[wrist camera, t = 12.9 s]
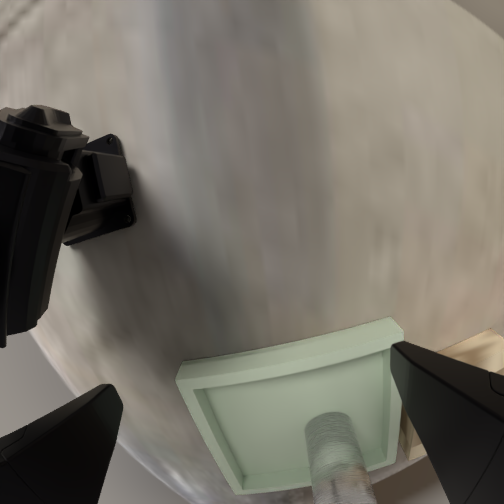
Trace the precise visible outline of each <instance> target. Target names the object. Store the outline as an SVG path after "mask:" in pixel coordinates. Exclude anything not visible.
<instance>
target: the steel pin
mask: <svg viewBox="0 0 504 504" xmlns="http://www.w3.org/2000/svg"><path fill="white" fill-rule="evenodd" d="M304 433H305V440H306V447H307V454H308V462H309V469H310V476H311V484H312V491H313V499H314V504H377V501H376V497H375V494H374V491H373V487H372V484H371V481H370V478H369V474H368V471H367V468H366V465H365V461H364V458H363V455H362V452H361V449H360V446H359V443H358V439H357V436H356V433H355V430H354V427H353V424H352V421H351V419H350V417H349V416H348V415H346V414H344V413H342V412H327V413H323V414H320V415H318V416H316V417H314V418H313V419H311V420H310V421H309V422H308V423H307V425H306V426H305V429H304Z"/></svg>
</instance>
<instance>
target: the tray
mask: <svg viewBox="0 0 504 504" xmlns="http://www.w3.org/2000/svg"><path fill="white" fill-rule="evenodd" d="M400 341H404V331H403V330H402V329H401V328H400V327H399V326H398V324H397V323H396V322H395V321H394V320H393V319H392V318H391V317H387V318H383V319H380V320H376V321H373V322H369V323H366V324H362V325H359V326H355V327H351V328H348V329H344V330H340V331H336V332H332V333H328V334H324V335H320V336H316V337H312V338H308V339H303V340H299V341H295V342H290V343H285V344H281V345H276V346H271V347H266V348H261V349H256V350H251V351H245V352H240V353H234V354H228V355H222V356H216V357H210V358H203V359H196V360H189V361H182V364H181V366H180V368H179V371H178V373H177V376H176V378H175V382H176V384H177V386H178V389H179V391H180V393H181V395H182V397H183V399H184V401H185V404H186V406H187V408H188V410H189V412H190V414H191V416H192V418H193V420H194V422H195V424H196V426H197V428H198V430H199V432H200V434H201V436H202V437H203V439H204V441H205V443H206V445H207V447H208V449H209V451H210V452H211V454H212V456H213V458H214V460H215V461H216V463H217V465H218V467H219V468H220V470H221V472H222V474H223V475H224V477H225V479H226V480H227V482H228V484H229V485H230V487H231V489H232V490H233V492H234V493H235V495H245V494H257V493H266V492H275V491H282V490H289V489H295V488H301V487H307V486H312V484H311V476H310V469H309V462H308V454H307V447H306V440H305V433H304V429H305V426H306V425H307V423H308V422H309V421H310V420H311V419H313V418H314V417H316V416H318V415H320V414H323V413H327V412H342V413H344V414H346V415H348V416H349V417H350V419H351V421H352V424H353V427H354V430H355V433H356V436H357V439H358V443H359V446H360V449H361V452H362V455H363V458H364V461H365V465H366V468H367V471H368V472H369V471H372V470H375V469H379V468H382V467H385V466H388V465H391V464H394V463H395V461H396V454H397V446H398V438H399V429H400V419H401V406H402V400H401V398H400V395H399V392H398V390H397V387H396V384H395V382H394V379H393V376H392V374H391V370H390V348H391V345H392V344H393V343H397V342H400Z"/></svg>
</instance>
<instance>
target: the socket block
mask: <svg viewBox="0 0 504 504" xmlns="http://www.w3.org/2000/svg"><path fill="white" fill-rule="evenodd" d="M436 353H439V354H442V355H445V356H448V357H450V358H453V359H456V360H459V361H462V362H465V363H468V364H471V365H474V366H477V367H479V368H482V369H485V370H488V371H489V372H490V371H492V372H495V373H497V374H501V375H504V338H503V337H501V336H500V335H499V334H497V333H496V332H495V331H493V330H492V329H491V328H490V329H488V330H486V331H484V332H482V333H480V334H478V335H475V336H473V337H471V338H469V339H467V340H464V341H462V342H460V343H458V344H455V345H453V346H450V347H448V348H446V349H443V350H441V351H438V352H436ZM398 440H399V442H400V444H401V446H402V448H403V450H404V452H405V455H406V457H407V459H408V461H410V460H413V459H415V458H418V457H420V456H423V455H425V454H427V453H426V451H425V449H424V447H423V445H422V443H421V440H420V438H419V436H418V435H417V433H416V431H415V429H414V427H413V425H412V423H411V421H410V419H409V417H408V415H407V413H406V411H405V408H404V406H403V403H402V406H401V419H400V429H399V438H398Z"/></svg>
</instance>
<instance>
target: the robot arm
mask: <svg viewBox="0 0 504 504" xmlns="http://www.w3.org/2000/svg"><path fill="white" fill-rule="evenodd" d="M82 132H83V131H81V130H79V129H77V128H75V127H73V126H72V125H71V121H70V116H69V113H66V112H64V111H61V110H58V109H54V108H51V107H47V106H43V105H31V106H29V107H27V108H21V109H17V110H16V109H12V108H8V107H5V108H3V109H1V110H0V348H4V347H6V336H8V335H12V334H17V333H22V332H26V331H28V330H30V329H32V328H34V327H36V325H37V320H38V319H40V318H41V316H42V315H43V314H44V312H45V311H46V310H47V309H48V304H49V299H50V294H51V288H52V283H53V278H54V273H55V268H56V264H57V259H58V255H59V251H60V247H61V243H63V244H64V245H66V246H69V245H72V244H75V243H79V242H82V241H85V240H88V239H91V238H94V237H97V236H100V235H103V234H107V233H110V232H113V231H116V230H120V229H123V228H126V227H130V226H132V225H134V224H135V223H136V220H137V219H136V214H135V210H134V206H133V202H132V198H131V196H132V193H133V190H132V186H131V182H130V177H129V173H128V169H127V164H126V160H125V158H124V157H123V156H122V155H121V150H120V145H119V140H118V137H117V136H116V135H113V134H108V135H106V136H103V137H101V138H99V139H96V140H94V141H92V142H90V143H87V142H88V139H89V137H88V136H86V135H83V134H82ZM111 138H112V139H113V142H112V144H109V140H110V139H111ZM127 216H130V218H131V221H130V222H128V221H127ZM390 370H391V374H392V376H393V379H394V382H395V384H396V387H397V390H398V392H399V395H400V398H401V400H402V403H403V406H404V408H405V411H406V413H407V415H408V417H409V419H410V421H411V423H412V425H413V427H414V429H415V431H416V433H417V435H418V436H419V438H420V440H421V443H422V445H423V447H424V449H425V451H426V453H427V455H428V457H429V459H430V461H431V463H432V465H433V467H434V469H435V471H436V473H437V476H438V478H439V480H440V482H441V484H442V487H443V489H444V491H445V493H446V495H447V498H448V500H449V502H450V504H504V375H501V374H497V373H495V372H492V371H490V372H489V371H488V370H485V369H482V368H479V367H477V366H474V365H471V364H468V363H465V362H462V361H459V360H456V359H453V358H450V357H448V356H445V355H442V354H439V353H436V352H434V351H431V350H428V349H425V348H422V347H420V346H417V345H414V344H411V343H409V342H406V341H400V342H397V343H393V344H392V345H391V348H390ZM122 412H123V403H122V400H121V399H120V397H119V395H118V393H117V391H116V389H115V387H114V386H113V385H112V384H101V385H99V386H97V387H95V388H94V389H92V390H90V391H88V392H87V393H85V394H83V395H81V396H79V397H78V398H76V399H74V400H72V401H70V402H69V403H67V404H65V405H64V406H61V407H60V408H58V409H56V410H54V411H52V412H50V413H49V414H47V415H45V416H43V417H41V418H39V419H37V420H35V421H33V422H32V423H30V424H28V425H26V426H24V427H22V428H20V429H18V430H16V431H14V432H12V433H10V434H8V435H5V436H3V437H1V438H0V504H98V500H99V497H100V493H101V490H102V486H103V483H104V480H105V476H106V473H107V470H108V466H109V463H110V460H111V457H112V454H113V450H114V447H115V444H116V440H117V435H118V430H119V426H120V421H121V417H122Z"/></svg>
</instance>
